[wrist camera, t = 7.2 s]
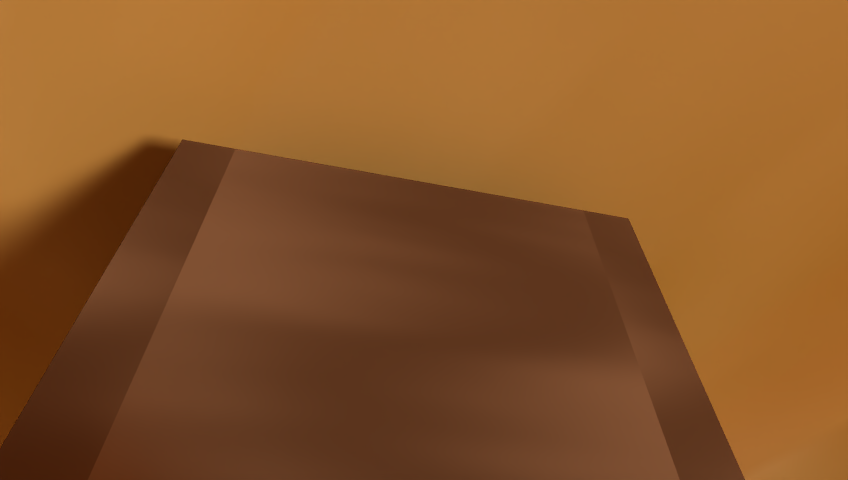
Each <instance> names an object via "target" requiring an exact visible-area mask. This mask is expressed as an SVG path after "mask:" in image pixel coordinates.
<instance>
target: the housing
mask: <svg viewBox="0 0 848 480" xmlns="http://www.w3.org/2000/svg"><path fill="white" fill-rule="evenodd" d="M0 480H745V479H744V477H743V474H742V472H741V470H740V468H739V465H738V463H737V461H736V459H735V457H734V454H733V452H732V450H731V448H730V445H729V443H728V441H727V439H726V436H725V434H724V432H723V430H722V427H721V425H720V423H719V421H718V418H717V416H716V414H715V412H714V409H713V407H712V405H711V403H710V400H709V398H708V396H707V394H706V392H705V389H704V387H703V385H702V383H701V380H700V378H699V376H698V374H697V371H696V369H695V367H694V365H693V362H692V360H691V358H690V356H689V353H688V351H687V349H686V347H685V344H684V342H683V340H682V338H681V335H680V333H679V331H678V329H677V327H676V324H675V322H674V320H673V318H672V315H671V313H670V311H669V309H668V306H667V304H666V302H665V300H664V297H663V295H662V293H661V291H660V288H659V286H658V284H657V282H656V279H655V277H654V275H653V273H652V271H651V268H650V266H649V264H648V262H647V259H646V257H645V255H644V253H643V250H642V248H641V246H640V244H639V241H638V239H637V237H636V235H635V232H634V230H633V228H632V226H631V223H630V221H629V219H628V218H622V217H616V216H611V215H605V214H599V213H594V212H588V211H582V210H577V209H571V208H566V207H560V206H554V205H549V204H543V203H537V202H532V201H526V200H520V199H515V198H509V197H503V196H498V195H492V194H487V193H481V192H475V191H470V190H464V189H458V188H453V187H447V186H441V185H436V184H430V183H424V182H419V181H413V180H407V179H402V178H396V177H391V176H385V175H379V174H374V173H368V172H362V171H357V170H351V169H345V168H340V167H334V166H328V165H323V164H317V163H312V162H306V161H300V160H295V159H289V158H283V157H278V156H272V155H266V154H261V153H255V152H249V151H244V150H238V149H232V148H227V147H221V146H216V145H210V144H204V143H199V142H193V141H187V140H182V141H181V143H180V145H179V146H178V148H177V150H176V152H175V153H174V155H173V157H172V158H171V160H170V162H169V163H168V165H167V167H166V168H165V170H164V172H163V174H162V175H161V177H160V179H159V180H158V182H157V184H156V185H155V187H154V189H153V190H152V192H151V194H150V196H149V197H148V199H147V201H146V202H145V204H144V206H143V207H142V209H141V211H140V212H139V214H138V216H137V218H136V219H135V221H134V223H133V224H132V226H131V228H130V229H129V231H128V233H127V234H126V236H125V238H124V240H123V241H122V243H121V245H120V246H119V248H118V250H117V251H116V253H115V255H114V257H113V258H112V260H111V262H110V263H109V265H108V267H107V268H106V270H105V272H104V273H103V275H102V277H101V279H100V280H99V282H98V284H97V285H96V287H95V289H94V290H93V292H92V294H91V295H90V297H89V299H88V301H87V302H86V304H85V306H84V307H83V309H82V311H81V312H80V314H79V316H78V317H77V319H76V321H75V323H74V324H73V326H72V328H71V329H70V331H69V333H68V334H67V336H66V338H65V339H64V341H63V343H62V345H61V346H60V348H59V350H58V351H57V353H56V355H55V356H54V358H53V360H52V362H51V363H50V365H49V367H48V368H47V370H46V372H45V373H44V375H43V377H42V378H41V380H40V382H39V384H38V385H37V387H36V389H35V390H34V392H33V394H32V395H31V397H30V399H29V400H28V402H27V404H26V406H25V407H24V409H23V411H22V412H21V414H20V416H19V417H18V419H17V421H16V422H15V424H14V426H13V428H12V429H11V431H10V433H9V434H8V436H7V438H6V439H5V441H4V443H3V444H2V446H1V448H0Z"/></svg>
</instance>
